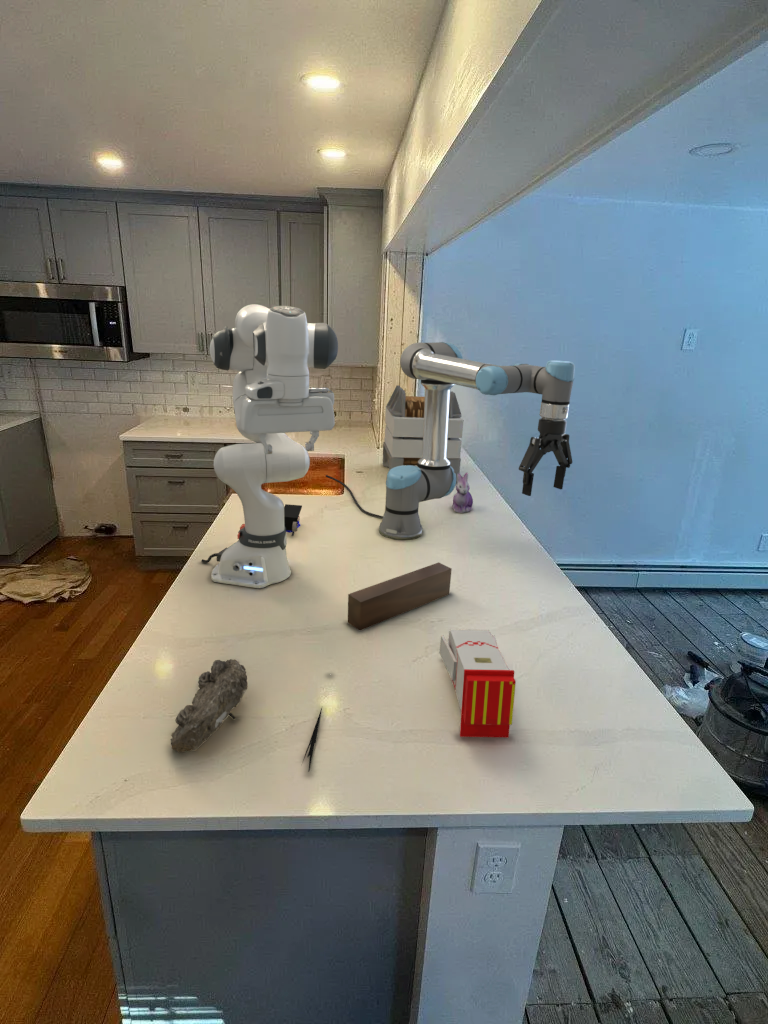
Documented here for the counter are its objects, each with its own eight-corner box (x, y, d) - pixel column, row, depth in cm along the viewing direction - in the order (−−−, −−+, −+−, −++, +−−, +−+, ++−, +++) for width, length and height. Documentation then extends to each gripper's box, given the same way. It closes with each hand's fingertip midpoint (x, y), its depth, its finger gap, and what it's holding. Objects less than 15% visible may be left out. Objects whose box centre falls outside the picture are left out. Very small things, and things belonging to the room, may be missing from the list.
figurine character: (298, 542, 192) (303, 521, 206) (297, 522, 189) (302, 503, 202) (278, 541, 192) (284, 521, 205) (277, 521, 189) (283, 502, 202)
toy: (489, 613, 130) (525, 677, 101) (485, 667, 133) (518, 744, 104) (437, 612, 130) (457, 676, 101) (434, 666, 133) (453, 743, 103)
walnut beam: (347, 622, 143) (348, 594, 140) (436, 587, 162) (438, 562, 160) (359, 631, 139) (360, 602, 136) (449, 594, 159) (451, 568, 156)
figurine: (459, 514, 221) (463, 477, 216) (445, 506, 229) (448, 470, 224) (479, 511, 225) (483, 475, 220) (464, 503, 234) (467, 468, 228)
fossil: (195, 660, 117) (247, 628, 112) (227, 691, 120) (279, 661, 115) (146, 746, 98) (206, 711, 93) (185, 779, 101) (245, 748, 96)
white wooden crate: (381, 463, 289) (385, 382, 275) (444, 464, 292) (450, 384, 279) (389, 482, 257) (393, 392, 243) (459, 483, 261) (467, 394, 247)
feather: (331, 679, 122) (336, 673, 122) (307, 777, 96) (313, 769, 95) (324, 675, 122) (329, 669, 121) (298, 772, 95) (304, 764, 95)
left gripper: (329, 385, 127) (328, 445, 131) (236, 386, 118) (239, 451, 123) (339, 389, 121) (338, 452, 126) (243, 391, 113) (246, 458, 117)
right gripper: (532, 424, 148) (522, 501, 155) (592, 417, 161) (580, 488, 168) (511, 419, 153) (502, 493, 161) (571, 413, 167) (560, 482, 174)
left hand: (289, 452), depth 124 cm, fingers open, 8 cm apart
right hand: (542, 491), depth 165 cm, fingers open, 13 cm apart
